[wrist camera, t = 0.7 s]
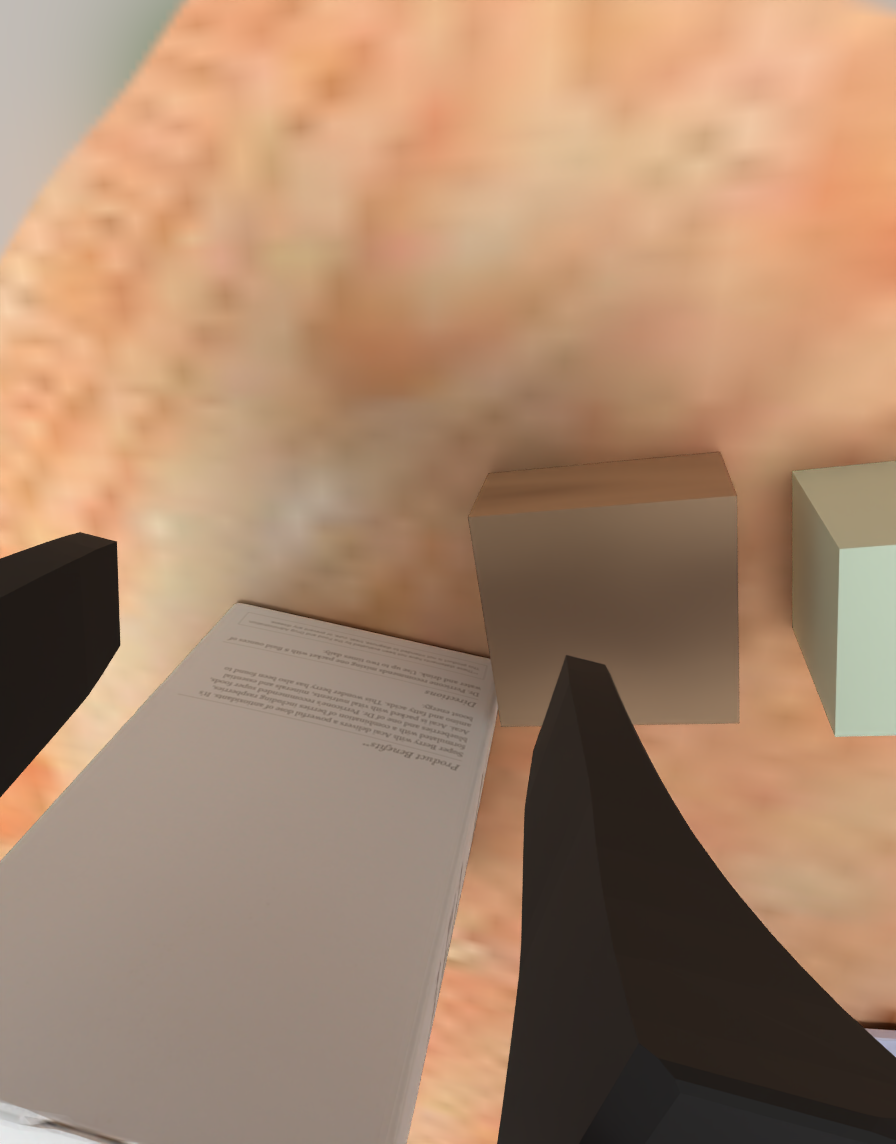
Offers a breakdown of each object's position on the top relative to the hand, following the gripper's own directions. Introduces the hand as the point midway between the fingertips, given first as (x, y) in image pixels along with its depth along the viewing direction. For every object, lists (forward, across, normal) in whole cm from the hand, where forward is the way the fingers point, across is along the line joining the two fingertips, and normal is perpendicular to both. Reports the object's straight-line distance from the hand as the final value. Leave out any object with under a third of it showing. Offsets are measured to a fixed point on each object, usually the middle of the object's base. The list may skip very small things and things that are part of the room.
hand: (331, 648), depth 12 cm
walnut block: (+10, -5, +3) cm, 12 cm away
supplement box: (+10, +1, +11) cm, 15 cm away
